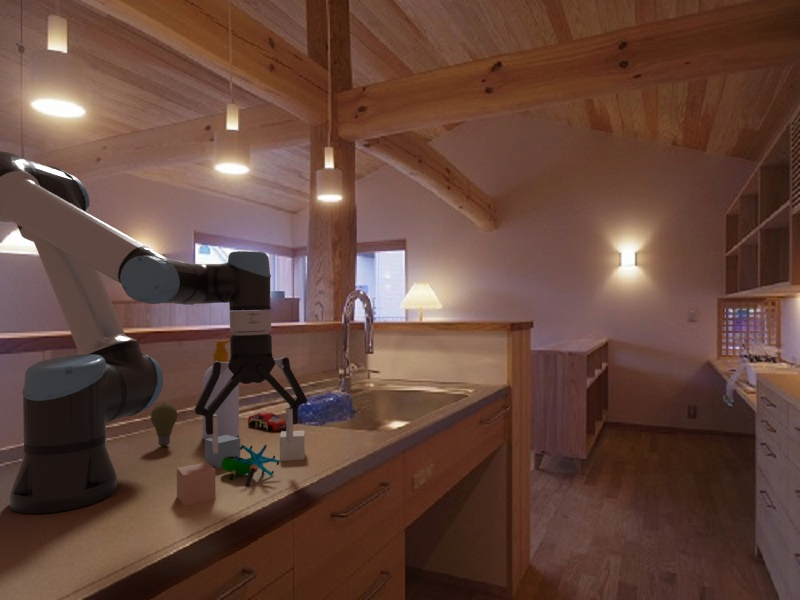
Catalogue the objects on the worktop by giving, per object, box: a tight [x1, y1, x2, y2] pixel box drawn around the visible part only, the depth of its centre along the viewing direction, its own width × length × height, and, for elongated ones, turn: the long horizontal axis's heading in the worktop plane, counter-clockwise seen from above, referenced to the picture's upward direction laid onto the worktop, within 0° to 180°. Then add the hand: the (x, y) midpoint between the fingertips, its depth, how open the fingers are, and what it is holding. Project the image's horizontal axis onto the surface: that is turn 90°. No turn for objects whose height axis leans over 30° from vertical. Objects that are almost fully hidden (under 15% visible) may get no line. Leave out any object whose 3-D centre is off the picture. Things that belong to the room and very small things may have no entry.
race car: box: [247, 411, 286, 433], centre depth 137 cm, size 13×5×4 cm, turn 51°
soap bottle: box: [201, 339, 240, 440], centre depth 128 cm, size 9×9×24 cm
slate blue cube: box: [204, 435, 241, 469], centre depth 106 cm, size 5×5×5 cm
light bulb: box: [150, 402, 178, 448], centre depth 119 cm, size 6×6×10 cm
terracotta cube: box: [176, 462, 216, 507], centre depth 86 cm, size 5×5×5 cm
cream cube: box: [279, 430, 306, 462], centre depth 110 cm, size 5×5×5 cm
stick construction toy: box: [221, 444, 281, 487], centre depth 95 cm, size 12×7×8 cm
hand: (253, 446), depth 97 cm, fingers open, 13 cm apart
